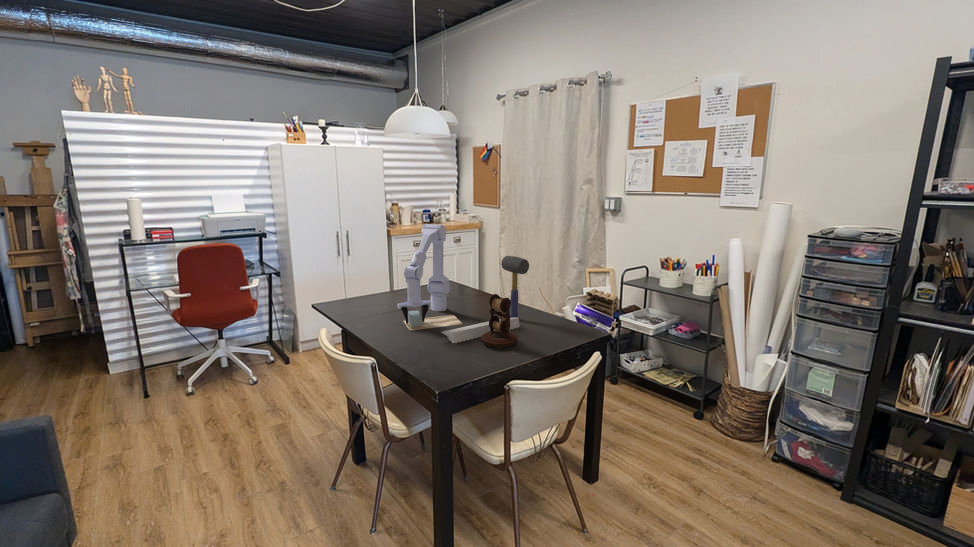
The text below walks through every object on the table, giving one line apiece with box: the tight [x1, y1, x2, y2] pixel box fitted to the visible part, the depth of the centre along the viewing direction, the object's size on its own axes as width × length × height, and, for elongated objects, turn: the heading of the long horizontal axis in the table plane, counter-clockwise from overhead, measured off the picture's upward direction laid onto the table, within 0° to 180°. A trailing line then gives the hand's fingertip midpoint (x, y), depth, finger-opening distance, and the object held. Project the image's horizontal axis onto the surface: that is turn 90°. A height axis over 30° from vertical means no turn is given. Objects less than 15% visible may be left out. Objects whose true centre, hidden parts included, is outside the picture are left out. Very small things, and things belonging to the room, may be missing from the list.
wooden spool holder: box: [480, 293, 519, 350], centre depth 183 cm, size 15×15×20 cm
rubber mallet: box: [500, 255, 530, 318], centre depth 210 cm, size 12×8×30 cm, turn 41°
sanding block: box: [408, 310, 422, 328], centre depth 201 cm, size 8×4×5 cm, turn 21°
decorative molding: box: [440, 317, 521, 344], centre depth 197 cm, size 34×5×10 cm
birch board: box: [402, 314, 463, 332], centre depth 205 cm, size 14×24×2 cm, turn 111°
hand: (415, 322), depth 201 cm, fingers open, 6 cm apart
